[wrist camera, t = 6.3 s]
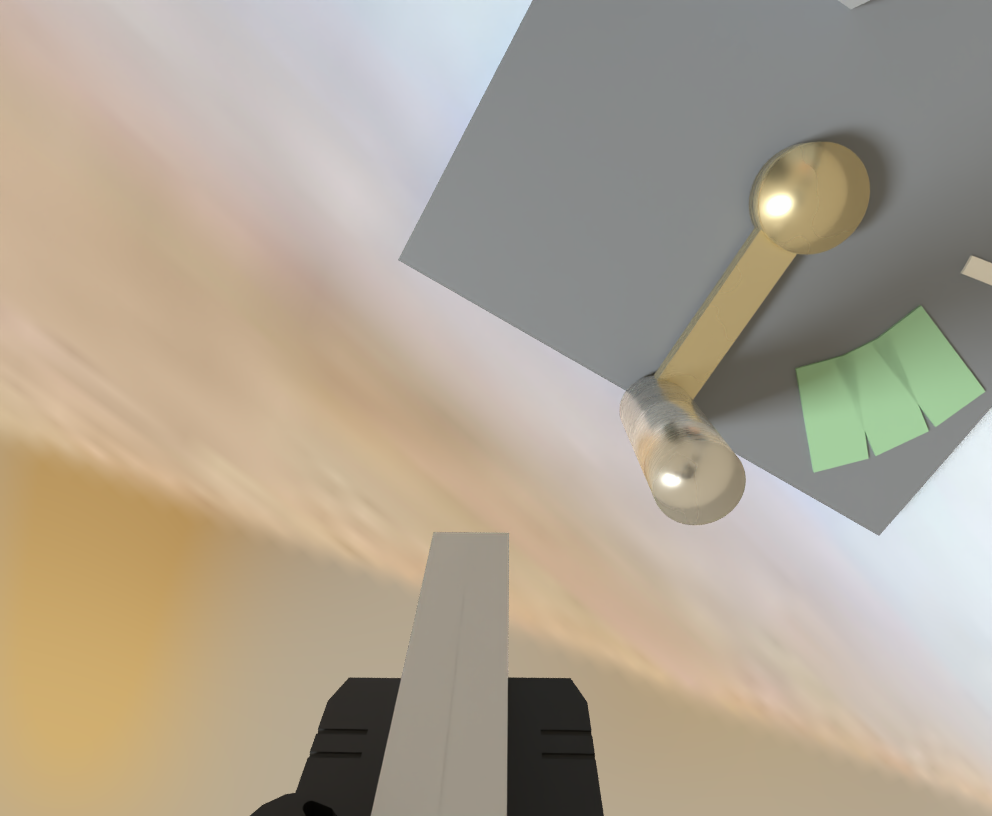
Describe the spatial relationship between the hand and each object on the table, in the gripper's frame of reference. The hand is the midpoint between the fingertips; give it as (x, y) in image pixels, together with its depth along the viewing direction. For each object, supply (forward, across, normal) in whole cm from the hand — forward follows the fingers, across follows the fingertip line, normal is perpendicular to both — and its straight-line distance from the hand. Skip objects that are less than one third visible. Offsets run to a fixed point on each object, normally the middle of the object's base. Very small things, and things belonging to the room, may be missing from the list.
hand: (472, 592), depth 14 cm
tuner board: (+12, +11, +10) cm, 19 cm away
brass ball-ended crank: (+10, +8, +4) cm, 14 cm away
